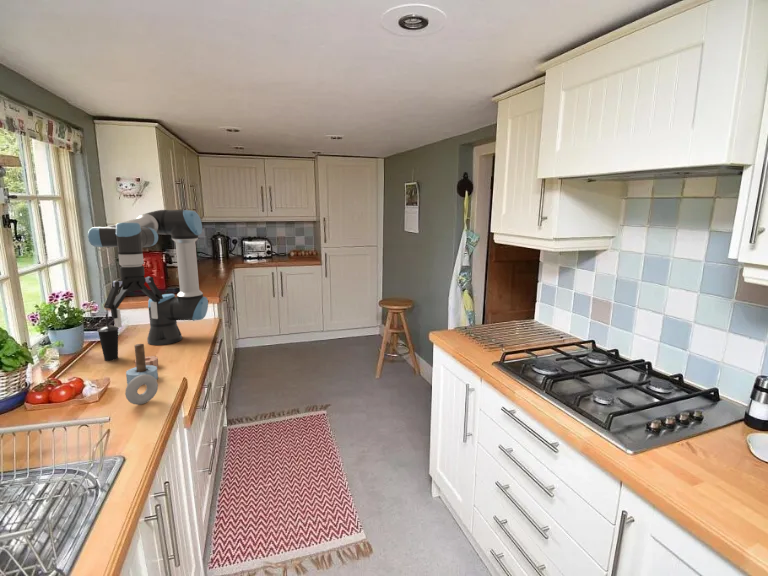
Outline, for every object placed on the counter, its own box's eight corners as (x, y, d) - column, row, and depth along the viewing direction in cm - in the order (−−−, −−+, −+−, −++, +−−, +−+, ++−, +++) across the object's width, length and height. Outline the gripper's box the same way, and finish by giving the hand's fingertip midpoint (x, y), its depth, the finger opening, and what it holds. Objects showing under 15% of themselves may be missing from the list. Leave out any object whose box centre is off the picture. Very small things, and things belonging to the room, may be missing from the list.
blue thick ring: (147, 373, 158) (146, 363, 157) (163, 377, 154) (162, 368, 153) (121, 382, 149) (120, 372, 148) (137, 387, 145) (136, 377, 144)
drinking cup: (111, 362, 169) (106, 317, 165) (96, 361, 170) (90, 315, 167) (126, 356, 176) (121, 312, 173) (111, 355, 178) (106, 311, 174)
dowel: (143, 378, 153) (140, 343, 151) (148, 379, 152) (145, 344, 149) (136, 380, 150) (132, 345, 148) (141, 382, 149) (137, 346, 147)
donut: (130, 410, 127) (127, 381, 126) (124, 408, 129) (121, 378, 127) (161, 399, 136) (158, 371, 134) (155, 396, 137) (153, 369, 136)
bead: (146, 363, 169) (145, 355, 168) (162, 364, 167) (162, 356, 166) (131, 370, 161) (130, 361, 160) (148, 371, 159) (147, 363, 159)
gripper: (157, 261, 157) (162, 314, 160) (87, 268, 134) (95, 329, 138) (170, 263, 153) (174, 316, 157) (100, 270, 131) (107, 332, 135)
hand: (137, 322), depth 148 cm, fingers open, 13 cm apart
